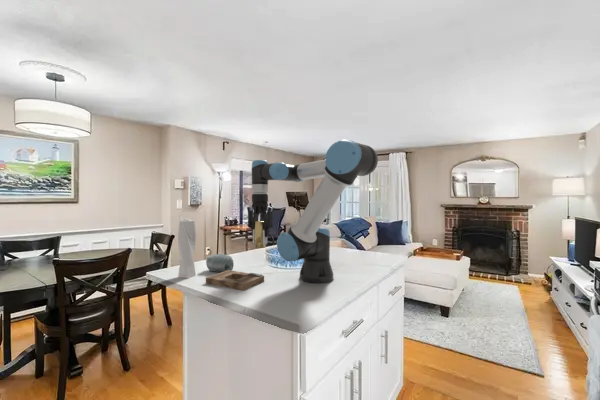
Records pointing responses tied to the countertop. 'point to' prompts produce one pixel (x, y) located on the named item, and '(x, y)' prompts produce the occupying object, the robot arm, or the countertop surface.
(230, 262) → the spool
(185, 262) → the skyscraper
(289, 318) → the countertop surface
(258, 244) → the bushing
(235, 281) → the jig
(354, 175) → the robot arm
